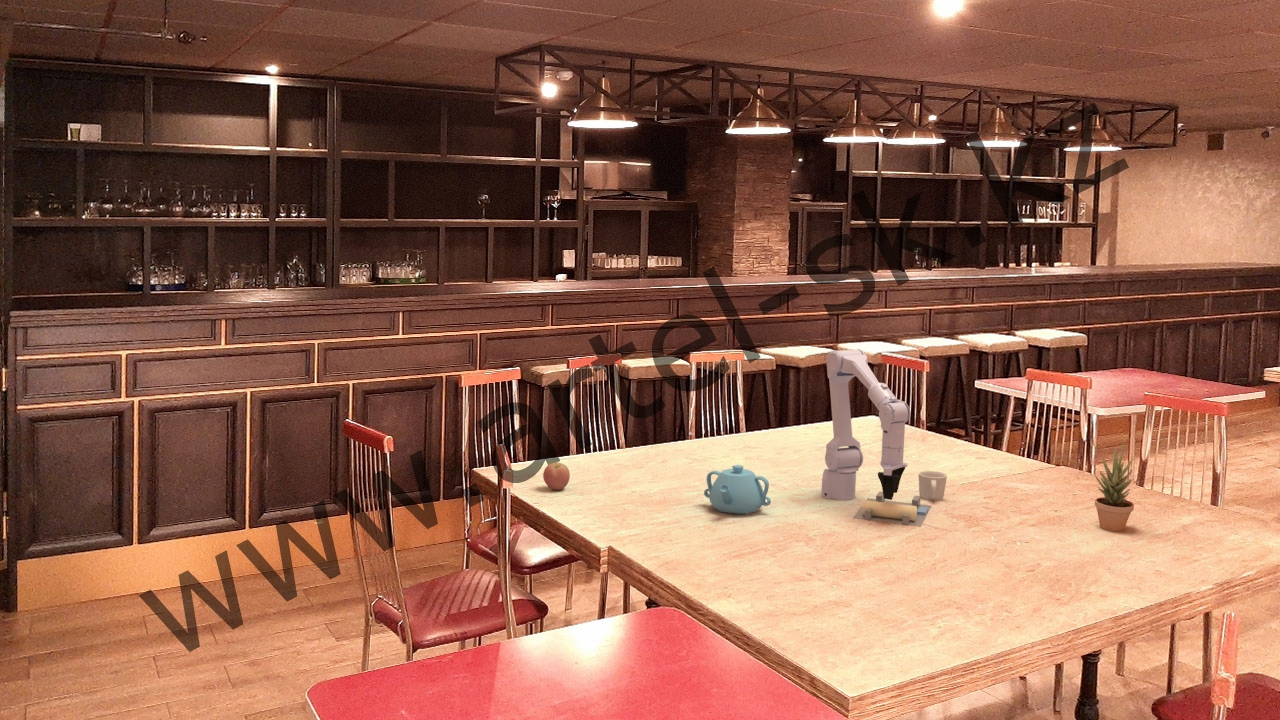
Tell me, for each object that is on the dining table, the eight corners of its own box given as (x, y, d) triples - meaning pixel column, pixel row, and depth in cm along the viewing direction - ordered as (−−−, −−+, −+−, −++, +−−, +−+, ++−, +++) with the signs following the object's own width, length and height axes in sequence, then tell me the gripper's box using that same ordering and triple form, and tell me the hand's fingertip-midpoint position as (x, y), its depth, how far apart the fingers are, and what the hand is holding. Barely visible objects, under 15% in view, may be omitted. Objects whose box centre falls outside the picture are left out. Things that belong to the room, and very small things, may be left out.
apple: (538, 491, 305) (538, 464, 303) (550, 485, 312) (550, 459, 310) (562, 494, 302) (563, 467, 301) (574, 488, 309) (574, 462, 308)
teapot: (778, 507, 291) (780, 463, 289) (756, 526, 273) (757, 479, 272) (713, 498, 299) (714, 456, 298) (687, 516, 281) (688, 471, 280)
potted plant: (1115, 535, 270) (1123, 443, 266) (1085, 525, 278) (1092, 436, 275) (1141, 530, 274) (1148, 439, 271) (1110, 521, 283) (1117, 433, 279)
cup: (947, 507, 293) (949, 480, 292) (918, 505, 295) (920, 478, 294) (944, 498, 304) (945, 471, 303) (916, 496, 305) (917, 469, 304)
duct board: (852, 521, 279) (852, 509, 278) (867, 501, 299) (868, 490, 298) (920, 530, 272) (921, 517, 271) (931, 509, 292) (932, 497, 291)
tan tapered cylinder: (862, 517, 280) (862, 503, 279) (864, 510, 284) (865, 497, 283) (914, 523, 275) (914, 510, 274) (916, 517, 279) (917, 503, 277)
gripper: (903, 453, 269) (901, 503, 270) (912, 442, 282) (909, 491, 284) (876, 450, 271) (874, 500, 273) (886, 440, 285) (883, 488, 286)
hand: (890, 495), depth 279 cm, fingers open, 7 cm apart
